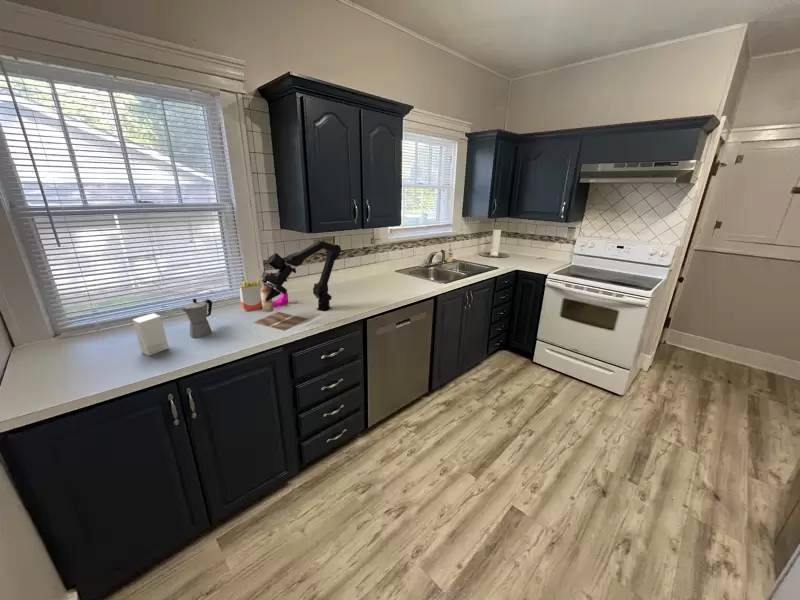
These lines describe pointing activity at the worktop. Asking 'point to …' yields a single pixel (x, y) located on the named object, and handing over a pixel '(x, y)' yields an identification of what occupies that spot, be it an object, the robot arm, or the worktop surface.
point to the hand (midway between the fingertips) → (263, 299)
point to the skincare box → (150, 334)
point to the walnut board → (281, 321)
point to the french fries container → (250, 295)
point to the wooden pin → (268, 304)
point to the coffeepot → (198, 318)
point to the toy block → (281, 300)
